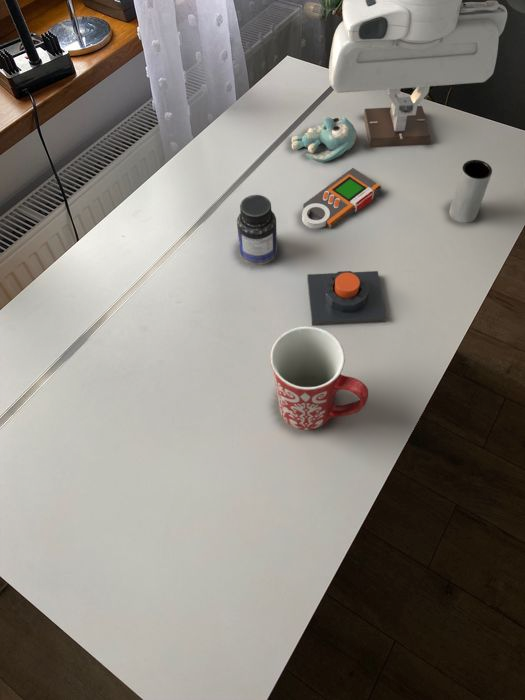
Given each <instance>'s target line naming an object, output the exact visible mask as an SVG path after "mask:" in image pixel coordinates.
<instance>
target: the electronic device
mask: <svg viewBox="0 0 525 700" xmlns="http://www.w3.org/2000/svg"><path fill="white" fill-rule="evenodd" d="M381 189H382V186H381V184H379V183H378V182H376V181H374V180H373V179H372V178H370V177H369V176H367V175H365V174H363V173H362V172H361V171H359V170H358V169H356V168H354V167H351V168H350V169H349V170H347V171H346V172H345V173H343V174H342V175H341V176H340V177H337V179H335V180H333V182H331V183H330V184H328V185H327V186H326V187H324V188H323V189H322V190H320V191H319V192H318V193H317V194H315V195H313V197H311V198H310V199H308V200H307V201H305V202H304V203H303V204H302V206H303V207H302V208H303V209H302V212H301V220H302V223H303V225H305V226H306V227H307V228H310V229H316V230H317V229H322V228H324V227H327V228H329V229H330V230H332V229H333V228H334V227H336V226H338V225H339V224H340V223H342V222H343V221H344V220H346V219H347V218H349V217H350V216H351V215H352V214H354V213H357V212H358V211H360V209H362V208H363V207H365V206H366V205H368V204H370V203H371V202H372V201H373V199H374V198H376V197H377V196H379V195H380V194H381ZM309 215H311V216H312V217H313V218H315V219H311V218H310V217H309Z"/></svg>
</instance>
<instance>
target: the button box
mask: <svg viewBox="0 0 525 700" xmlns="http://www.w3.org/2000/svg"><path fill="white" fill-rule="evenodd" d="M342 273H352V274H354V275H356V276H357V277H358V278H359V280H360V286H359V291H358V294H357V295H356V296H355V297H353V298H349V299H346V298H342V297H340V296H338V295H337V294H336V292H335V280H336V278H337V276H339V275H340V274H342ZM306 282H307V290H308V301H309V312H310V322H311V327H315V326H332V325H351V324H352V325H353V324H374V323H375V324H376V323H386V320H387V313H386V307H385V303H384V301H385V300H384V297H383V296H384V295H383V291H382V285H381V280H380V274H379V270H372V271H371V270H369V271H351V270H343V271H342V270H341V271H337V272H331V273H330V272H329V273H328V272H327V273H309V274H307V275H306Z"/></svg>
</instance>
